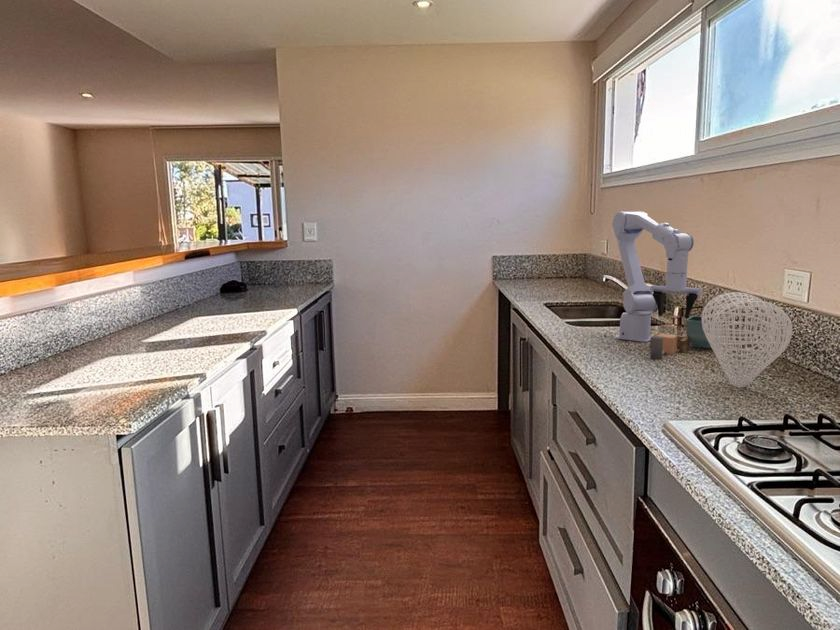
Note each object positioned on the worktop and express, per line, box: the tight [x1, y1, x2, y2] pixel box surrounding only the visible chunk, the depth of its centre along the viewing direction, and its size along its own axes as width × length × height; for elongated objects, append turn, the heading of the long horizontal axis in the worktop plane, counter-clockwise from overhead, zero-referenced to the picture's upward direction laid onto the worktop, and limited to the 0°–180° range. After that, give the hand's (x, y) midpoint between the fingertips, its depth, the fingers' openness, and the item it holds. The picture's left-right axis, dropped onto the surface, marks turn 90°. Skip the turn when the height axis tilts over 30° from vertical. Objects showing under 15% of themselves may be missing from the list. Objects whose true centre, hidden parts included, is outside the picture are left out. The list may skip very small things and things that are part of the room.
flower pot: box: [685, 315, 720, 349], centre depth 181 cm, size 9×9×9 cm
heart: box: [701, 291, 793, 389], centre depth 135 cm, size 28×16×22 cm, turn 164°
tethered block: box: [649, 333, 679, 360], centre depth 171 cm, size 5×14×6 cm, turn 142°
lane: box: [649, 333, 691, 353], centre depth 179 cm, size 10×8×4 cm
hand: (673, 316), depth 176 cm, fingers open, 7 cm apart
